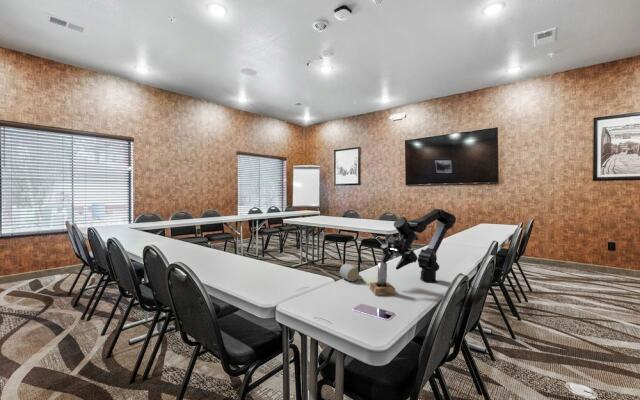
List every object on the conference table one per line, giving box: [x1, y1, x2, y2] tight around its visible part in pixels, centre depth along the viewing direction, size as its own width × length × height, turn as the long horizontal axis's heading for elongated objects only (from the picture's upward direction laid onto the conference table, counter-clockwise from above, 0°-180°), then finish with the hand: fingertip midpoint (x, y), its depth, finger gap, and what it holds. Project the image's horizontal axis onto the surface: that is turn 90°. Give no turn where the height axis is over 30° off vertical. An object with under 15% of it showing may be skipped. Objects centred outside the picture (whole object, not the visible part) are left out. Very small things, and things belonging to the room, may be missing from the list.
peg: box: [377, 261, 388, 287], centre depth 132 cm, size 4×4×13 cm
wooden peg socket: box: [369, 281, 396, 296], centre depth 132 cm, size 9×9×3 cm
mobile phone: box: [351, 303, 396, 322], centre depth 109 cm, size 8×1×15 cm
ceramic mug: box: [339, 263, 363, 282], centre depth 150 cm, size 11×8×8 cm
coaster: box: [361, 277, 378, 286], centre depth 147 cm, size 10×10×1 cm
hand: (388, 266), depth 134 cm, fingers open, 9 cm apart
